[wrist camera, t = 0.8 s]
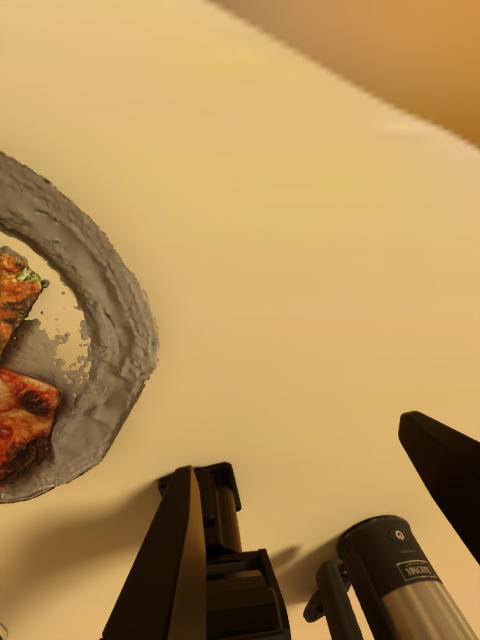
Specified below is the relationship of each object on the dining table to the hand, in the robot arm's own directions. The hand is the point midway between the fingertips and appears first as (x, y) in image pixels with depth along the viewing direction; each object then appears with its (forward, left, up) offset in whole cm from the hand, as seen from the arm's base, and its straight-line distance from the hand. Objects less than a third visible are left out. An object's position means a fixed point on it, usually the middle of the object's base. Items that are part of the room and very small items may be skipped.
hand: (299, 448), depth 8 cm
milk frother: (-38, -9, -13) cm, 41 cm away
